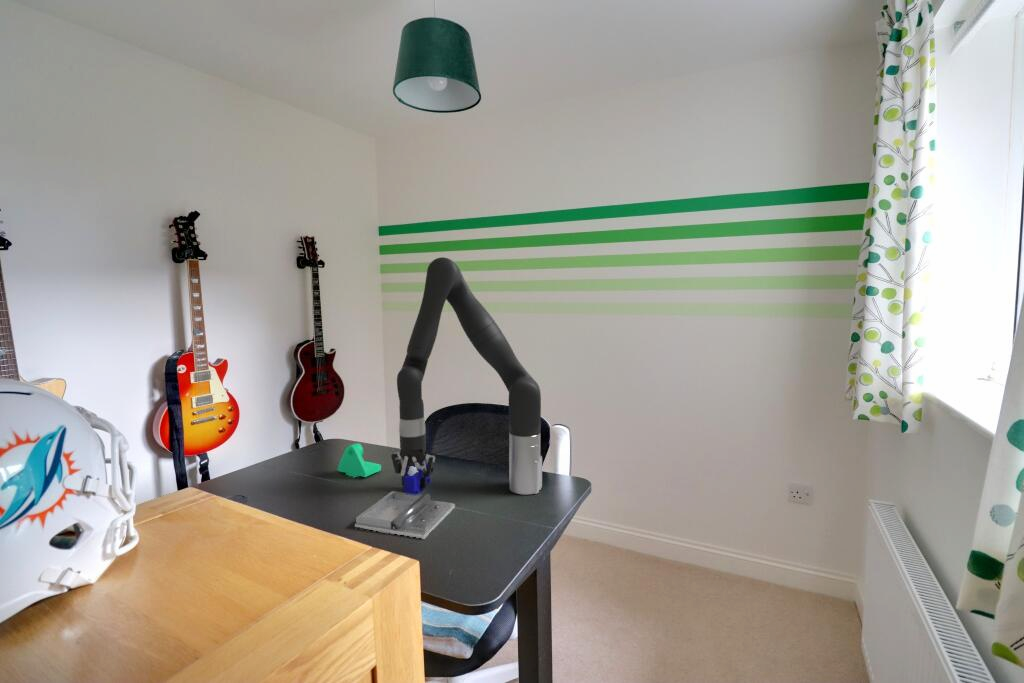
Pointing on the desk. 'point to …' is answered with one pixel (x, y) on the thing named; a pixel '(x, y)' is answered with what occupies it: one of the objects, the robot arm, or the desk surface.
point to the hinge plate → (398, 510)
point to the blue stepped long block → (414, 483)
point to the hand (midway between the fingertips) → (414, 487)
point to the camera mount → (356, 462)
